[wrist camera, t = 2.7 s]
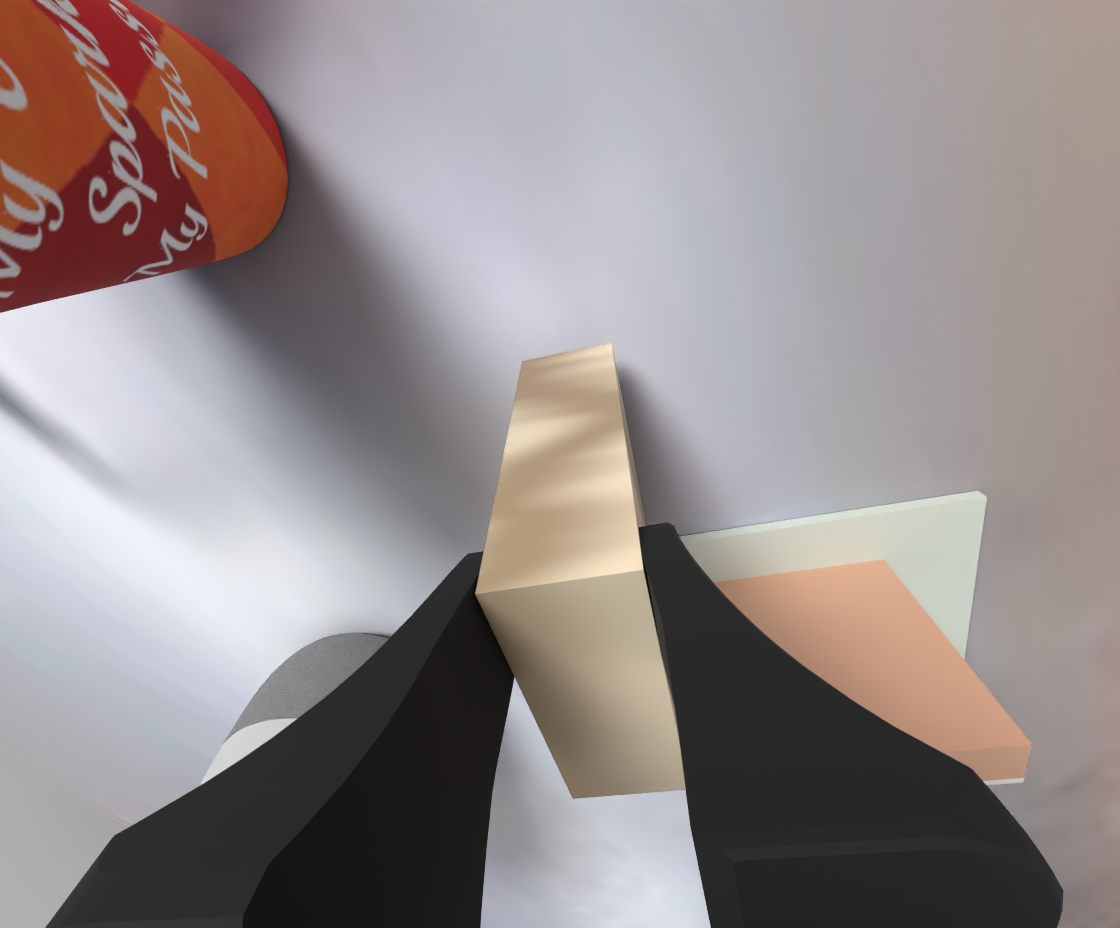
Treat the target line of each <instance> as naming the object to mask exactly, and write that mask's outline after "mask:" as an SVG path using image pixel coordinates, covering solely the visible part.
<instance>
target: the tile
mask: <svg viewBox="0 0 1120 928" xmlns="http://www.w3.org/2000/svg"><path fill="white" fill-rule="evenodd" d="M714 584H715V585H716V586H717V587H718V588H719V589H720V591H721V592H722V593H723V594H724V595H725V596H726V597H727V598H728V599H729V600H730V601H731V602H732V603H733V604H734V605H735V606H736V607H737V608H738V609H739V610H740V611H741V612H742V613H743V614H744V615H745V616H746V617H747V618H748V619H749V620H750V621H751V622H752V623H753V624H754V625H755V626H756V627H758V628H759V629H760V630H761V631H762V632H763V633H764V634H765V635H767V636H768V637H769V638H770V639H771V640H772V641H774V642H775V643H776V644H777V645H778V646H779V647H781V648H782V649H783V650H784V651H786V652H787V653H788V654H789V655H791V656H792V657H793V658H795V659H796V660H797V661H798V662H800V663H801V664H802V665H803V666H805V667H806V668H808V669H809V670H810V671H812V672H813V673H815V674H816V675H817V676H819V677H820V678H822V679H823V680H825V681H826V682H827V683H829V684H830V685H832V686H833V687H835V688H836V689H837V690H839V691H840V692H842V693H843V694H845V695H846V696H847V697H849V698H850V699H852V700H853V701H855V702H856V703H858V704H859V705H861V706H862V707H864V708H866V709H867V710H869V711H870V712H872V713H874V714H875V715H877V716H878V717H880V718H882V719H883V720H885V721H886V722H888V723H890V724H891V725H893V726H895V727H896V728H898V729H900V730H902V731H904V732H906V733H907V734H909V735H911V736H913V737H915V738H917V739H918V740H920V741H922V742H924V743H926V744H928V745H930V746H931V747H933V748H935V749H937V750H939V751H941V752H942V753H944V754H946V755H948V756H950V757H952V758H953V759H955V760H957V761H959V762H961V763H963V764H964V765H966V766H968V767H970V768H971V769H973V770H974V771H975V773H976V774H977V775H978V776H979V777H980V778H981V779H982V780H983V782H984V783H985V784H986V785H995V784H1008V783H1021V782H1023V781H1024V777H1025V773H1026V768H1027V764H1028V760H1029V756H1030V752H1031V747H1032V744H1031V742H1030V741H1029V740H1028V739H1027V737H1026V736H1025V735H1024V734H1023V732H1022V731H1021V730H1020V729H1019V727H1018V726H1017V725H1016V724H1015V722H1014V721H1013V720H1012V719H1011V717H1010V716H1009V715H1008V714H1007V712H1006V711H1005V710H1004V709H1003V707H1002V706H1001V705H1000V704H999V702H998V701H997V700H996V699H995V697H994V696H993V695H992V694H991V692H990V691H989V690H988V689H987V687H986V686H985V685H984V684H983V682H982V681H981V680H980V679H979V677H978V676H977V675H976V674H975V672H974V671H973V670H972V669H971V667H970V666H969V665H968V664H967V662H966V661H965V660H964V659H963V657H962V656H961V655H960V654H959V652H958V651H957V650H956V649H955V647H954V646H953V645H952V644H951V642H950V641H949V640H948V639H947V637H946V636H945V635H944V634H943V632H942V631H941V630H940V629H939V627H938V626H937V625H936V624H935V622H934V621H933V620H932V619H931V617H930V616H929V615H928V614H927V612H926V611H925V610H924V609H923V607H922V606H921V605H920V604H919V602H918V601H917V600H916V599H915V597H914V596H913V595H912V594H911V592H910V591H909V590H908V589H907V587H906V586H905V585H904V584H903V582H902V581H901V580H900V579H899V577H898V576H897V575H896V574H895V572H894V571H893V570H892V569H891V568H890V566H889V565H888V564H887V563H886V561H885V560H884V559H881V560H874V561H867V562H860V563H853V564H845V565H838V566H831V567H824V568H817V569H809V570H802V571H795V572H788V573H781V574H773V575H766V576H759V577H752V578H744V579H737V580H730V581H723V582H716V583H714Z"/></svg>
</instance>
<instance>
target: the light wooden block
mask: <svg viewBox="0 0 1120 928" xmlns="http://www.w3.org/2000/svg"><path fill="white" fill-rule="evenodd" d="M643 526H646V520H645V515H644V510H643V505H642V499H641V494H640V489H639V484H638V478H637V473H636V468H635V463H634V457H633V452H632V447H631V442H630V436H629V431H628V426H627V421H626V415H625V410H624V405H623V400H622V394H621V389H620V384H619V379H618V373H617V368H616V363H615V358H614V352H613V347H612V343H607V344H602V345H598V346H593V347H588V348H583V349H579V350H574V351H569V352H565V353H560V354H555V355H551V356H546V357H541V358H536V359H532V360H527V361H522V366H521V371H520V376H519V381H518V386H517V391H516V395H515V400H514V405H513V410H512V415H511V420H510V425H509V430H508V435H507V440H506V445H505V450H504V455H503V459H502V464H501V469H500V474H499V479H498V484H497V489H496V494H495V499H494V504H493V509H492V514H491V519H490V523H489V528H488V533H487V538H486V543H485V548H484V553H483V558H482V563H481V568H480V573H479V578H478V583H477V587H476V592H475V595H476V597H477V599H478V601H479V603H480V605H481V607H482V610H483V612H484V614H485V616H486V618H487V620H488V622H489V624H490V626H491V628H492V630H493V633H494V635H495V637H496V639H497V641H498V643H499V645H500V647H501V649H502V651H503V653H504V656H505V658H506V660H507V662H508V664H509V666H510V668H511V670H512V672H513V674H514V676H515V679H516V681H517V683H518V685H519V687H520V689H521V691H522V693H523V695H524V697H525V699H526V702H527V704H528V706H529V708H530V710H531V712H532V714H533V716H534V718H535V720H536V722H537V725H538V727H539V729H540V731H541V733H542V735H543V737H544V739H545V741H546V743H547V745H548V748H549V750H550V752H551V754H552V756H553V758H554V760H555V762H556V764H557V766H558V768H559V771H560V773H561V775H562V777H563V779H564V781H565V783H566V785H567V787H568V789H569V791H570V794H571V796H572V798H573V799H574V798H587V797H599V796H611V795H624V794H636V793H649V792H661V791H674V790H686V788H685V780H684V773H683V765H682V758H681V750H680V743H679V735H678V728H677V721H676V714H675V707H674V703H673V699H672V695H671V691H670V687H669V683H668V679H667V675H666V671H665V667H664V663H663V659H662V655H661V650H660V645H659V640H658V635H657V630H656V625H655V620H654V615H653V609H652V604H651V599H650V594H649V589H648V584H647V579H646V574H645V569H644V564H643V559H642V554H641V548H640V538H639V527H643Z"/></svg>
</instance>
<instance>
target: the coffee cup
mask: <svg viewBox="0 0 1120 928" xmlns="http://www.w3.org/2000/svg"><path fill="white" fill-rule="evenodd" d="M287 191H288V164H287V157H286V151H285V147H284V143H283V140H282V137H281V134H280V131H279V128H278V126H277V123H276V121H275V119H274V117H273V115H272V113H271V111H270V109H269V107H268V106H267V104H266V102H265V100H264V99H263V97H262V96H261V95H260V93H259V92H258V90H257V89H256V88H255V86H254V85H253V84H252V83H251V82H250V80H249V79H248V78H247V77H246V76H245V75H244V74H243V73H242V72H241V71H240V70H239V69H238V68H237V67H236V66H234V65H233V64H232V63H231V62H230V61H229V60H227V59H226V58H225V57H223V56H222V55H221V54H219V53H218V52H216V51H215V50H213V49H212V48H210V47H209V46H207V45H206V44H204V43H202V42H201V41H199V40H198V39H196V38H194V37H192V36H191V35H189V34H187V33H185V32H184V31H182V30H180V29H178V28H177V27H175V26H173V25H172V24H170V23H168V22H166V21H165V20H163V19H161V18H159V17H158V16H156V15H154V14H152V13H150V12H149V11H147V10H145V9H143V8H141V7H140V6H138V5H136V4H134V3H132V2H131V1H129V0H0V313H1V312H5V311H9V310H13V309H17V308H21V307H25V306H29V305H33V304H37V303H41V302H45V301H50V300H54V299H58V298H63V297H67V296H72V295H76V294H80V293H85V292H89V291H93V290H98V289H102V288H106V287H111V286H115V285H119V284H124V283H128V282H132V281H137V280H141V279H145V278H150V277H154V276H158V275H162V274H166V273H171V272H175V271H179V270H183V269H188V268H192V267H196V266H200V265H204V264H207V263H211V262H215V261H219V260H223V259H226V258H229V257H233V256H236V255H239V254H241V253H244V252H246V251H248V250H250V249H252V248H254V247H255V246H257V245H258V244H260V243H261V242H262V241H263V240H264V239H266V238H267V237H268V235H269V234H270V233H271V232H272V231H273V229H274V228H275V226H276V225H277V223H278V221H279V219H280V217H281V215H282V212H283V209H284V206H285V202H286V198H287Z"/></svg>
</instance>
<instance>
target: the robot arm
mask: <svg viewBox="0 0 1120 928" xmlns="http://www.w3.org/2000/svg"><path fill="white" fill-rule="evenodd" d="M639 538H640V548H641V554H642V559H643V564H644V569H645V574H646V579H647V584H648V589H649V594H650V599H651V604H652V609H653V615H654V620H655V625H656V630H657V635H658V640H659V645H660V650H661V655H662V659H663V663H664V667H665V671H666V675H667V679H668V683H669V687H670V691H671V695H672V699H673V703H674V707H675V714H676V721H677V728H678V735H679V743H680V750H681V758H682V765H683V773H684V780H685V788H686V795H687V803H688V811H689V819H690V826H691V831H692V836H693V841H694V846H695V851H696V856H697V861H698V866H699V871H700V876H701V881H702V885H703V890H704V895H705V900H706V905H707V910H708V915H709V920H710V925H711V928H1057V926H1058V923H1059V920H1060V916H1061V913H1062V905H1063V889H1062V887H1061V886H1060V884H1059V882H1058V880H1057V878H1056V877H1055V875H1054V873H1053V871H1052V870H1051V868H1050V867H1049V865H1048V864H1047V862H1046V860H1045V859H1044V857H1043V856H1042V854H1041V853H1040V851H1039V850H1038V848H1037V847H1036V846H1035V844H1034V843H1033V842H1032V840H1031V839H1030V837H1029V836H1028V835H1027V833H1026V832H1025V831H1024V829H1023V828H1022V827H1021V826H1020V825H1019V823H1018V822H1017V821H1016V820H1015V818H1014V817H1013V816H1012V815H1011V814H1010V812H1009V811H1008V810H1007V809H1006V808H1005V806H1004V805H1003V804H1002V803H1001V802H1000V800H999V799H998V798H997V797H996V796H995V794H994V793H993V792H992V791H991V790H990V789H989V787H988V786H987V785H986V784H985V783H984V782H983V780H982V779H981V778H980V777H979V776H978V775H977V774H976V773H975V771H974V770H973V769H971V768H970V767H968V766H966V765H964V764H963V763H961V762H959V761H957V760H955V759H953V758H952V757H950V756H948V755H946V754H944V753H942V752H941V751H939V750H937V749H935V748H933V747H931V746H930V745H928V744H926V743H924V742H922V741H920V740H918V739H917V738H915V737H913V736H911V735H909V734H907V733H906V732H904V731H902V730H900V729H898V728H896V727H895V726H893V725H891V724H890V723H888V722H886V721H885V720H883V719H882V718H880V717H878V716H877V715H875V714H874V713H872V712H870V711H869V710H867V709H866V708H864V707H862V706H861V705H859V704H858V703H856V702H855V701H853V700H852V699H850V698H849V697H847V696H846V695H845V694H843V693H842V692H840V691H839V690H837V689H836V688H835V687H833V686H832V685H830V684H829V683H827V682H826V681H825V680H823V679H822V678H820V677H819V676H817V675H816V674H815V673H813V672H812V671H810V670H809V669H808V668H806V667H805V666H803V665H802V664H801V663H800V662H798V661H797V660H796V659H795V658H793V657H792V656H791V655H789V654H788V653H787V652H786V651H784V650H783V649H782V648H781V647H779V646H778V645H777V644H776V643H775V642H774V641H772V640H771V639H770V638H769V637H768V636H767V635H765V634H764V633H763V632H762V631H761V630H760V629H759V628H758V627H756V626H755V625H754V624H753V623H752V622H751V621H750V620H749V619H748V618H747V617H746V616H745V615H744V614H743V613H742V612H741V611H740V610H739V609H738V608H737V607H736V606H735V605H734V604H733V603H732V602H731V601H730V600H729V599H728V598H727V597H726V596H725V595H724V594H723V593H722V592H721V591H720V589H719V588H718V587H717V586H716V585H715V584H714V583H713V581H712V580H711V579H710V578H709V577H708V575H707V574H706V573H705V572H704V571H703V570H702V568H701V567H700V566H699V565H698V563H697V562H696V561H695V559H694V558H693V557H692V555H691V554H690V553H689V551H688V550H687V548H686V547H685V545H684V544H683V542H682V541H681V539H680V537H679V536H678V534H677V532H676V530H675V527H674V526H672V525H671V524H669V523H662V524H656V525H649V526H643V527H639ZM483 553H484V551H482V552H476V553H470V554H467V555H466V556H465V557H464V558H463V559H462V560H461V561H460V562H459V563H458V564H457V565H456V567H455V568H454V569H453V570H452V571H451V572H450V573H449V574H448V575H447V577H446V578H445V579H444V580H443V581H442V582H441V583H440V585H439V586H438V587H437V588H436V589H435V590H434V591H433V592H432V594H431V595H430V596H429V597H428V598H427V599H426V600H425V601H424V602H423V604H422V605H421V606H420V607H419V608H418V609H417V610H416V611H415V612H414V613H413V615H412V616H411V617H410V618H409V619H408V620H407V621H406V622H405V623H404V624H403V625H402V626H401V627H400V628H399V629H398V630H397V631H396V632H395V633H394V634H393V635H392V636H391V637H390V638H389V639H388V640H387V641H386V642H385V643H384V644H383V645H382V646H381V647H380V648H379V649H378V650H377V651H376V652H375V653H374V654H373V655H372V656H371V657H370V658H369V659H368V660H367V661H366V662H365V663H364V664H363V665H362V666H361V667H359V668H358V669H357V670H356V671H355V672H354V673H353V674H352V675H350V676H349V677H348V678H347V679H346V680H345V681H344V682H342V683H341V684H340V685H339V686H338V687H337V688H335V689H334V690H333V691H332V692H331V693H330V694H328V695H327V696H326V697H325V698H323V699H322V700H321V701H320V702H318V703H317V704H316V705H314V706H313V707H312V708H311V709H309V710H308V711H307V712H305V713H304V714H303V715H301V716H300V717H299V718H297V719H296V720H295V721H293V722H292V723H291V724H290V725H288V726H287V727H286V728H284V729H283V730H282V731H280V732H279V733H278V734H276V735H275V736H274V737H272V738H271V739H270V740H268V741H267V742H265V743H264V744H262V745H261V746H259V747H258V748H257V749H255V750H254V751H252V752H251V753H249V754H248V755H246V756H245V757H244V758H242V759H241V760H239V761H237V762H236V763H234V764H233V765H231V766H230V767H228V768H227V769H225V770H224V771H222V772H221V773H219V774H218V775H216V776H215V777H213V778H211V779H210V780H208V781H207V782H205V783H203V784H202V785H200V786H199V787H197V788H195V789H194V790H192V791H190V792H189V793H187V794H185V795H184V796H182V797H180V798H179V799H177V800H175V801H173V802H172V803H170V804H168V805H167V806H165V807H163V808H161V809H160V810H158V811H156V812H155V813H153V814H151V815H150V816H148V817H146V818H144V819H143V820H141V821H139V822H138V823H136V824H134V825H132V826H131V827H129V828H127V829H126V830H123V831H122V832H120V833H118V834H116V835H115V836H114V837H113V838H112V839H111V840H110V842H109V843H108V844H107V846H106V847H105V848H104V850H103V851H102V852H101V854H100V855H99V856H98V858H97V859H96V860H95V862H94V863H93V864H92V866H91V867H90V869H89V870H88V871H87V872H86V874H85V875H84V877H83V878H82V879H81V881H80V882H79V883H78V885H77V886H76V887H75V889H74V890H73V891H72V893H71V894H70V895H69V897H68V898H67V899H66V901H65V902H64V903H63V905H62V906H61V907H60V909H59V910H58V912H57V913H56V914H55V915H54V917H53V918H52V920H51V921H50V922H49V924H48V925H47V926H46V928H480V924H481V908H482V896H483V884H484V872H485V860H486V848H487V838H488V828H489V819H490V809H491V799H492V791H493V785H494V779H495V772H496V767H497V762H498V757H499V752H500V747H501V742H502V737H503V732H504V727H505V722H506V717H507V712H508V707H509V702H510V697H511V692H512V687H513V682H514V677H515V676H514V674H513V672H512V670H511V668H510V666H509V664H508V662H507V660H506V658H505V656H504V653H503V651H502V649H501V647H500V645H499V643H498V641H497V639H496V637H495V635H494V633H493V630H492V628H491V626H490V624H489V622H488V620H487V618H486V616H485V614H484V612H483V610H482V607H481V605H480V603H479V601H478V599H477V597H476V595H475V592H476V587H477V583H478V578H479V573H480V568H481V563H482V558H483Z"/></svg>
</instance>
